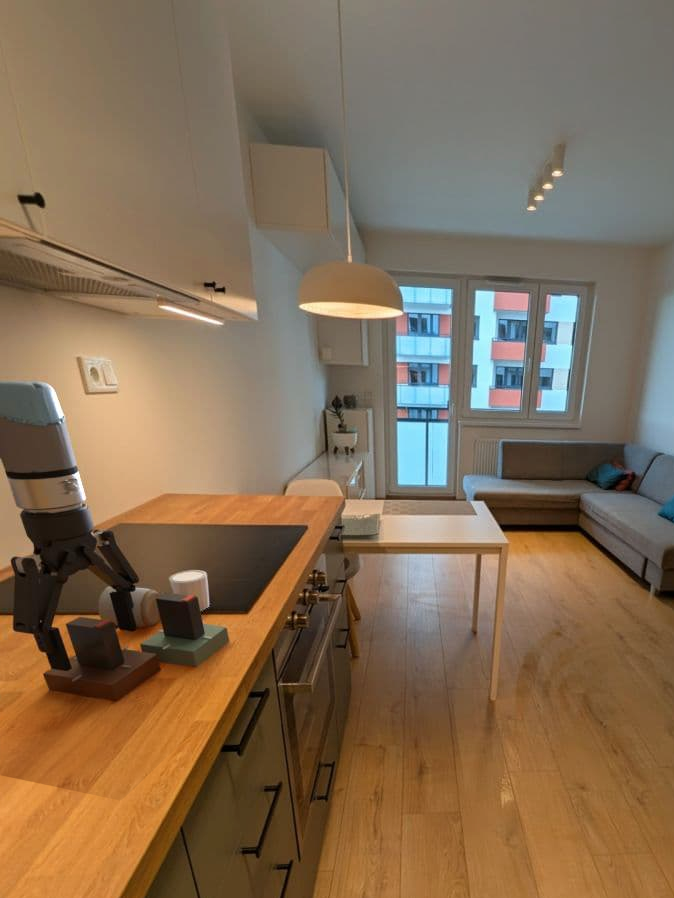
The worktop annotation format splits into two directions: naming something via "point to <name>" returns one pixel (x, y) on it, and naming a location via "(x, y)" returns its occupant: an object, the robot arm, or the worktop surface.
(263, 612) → the worktop surface
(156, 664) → the dark brown base plate
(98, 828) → the worktop surface
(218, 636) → the green square base
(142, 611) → the grey lying cylinder
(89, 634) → the red-tabbed dark slab
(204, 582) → the white cylinder
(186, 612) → the dark upright block
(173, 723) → the worktop surface
